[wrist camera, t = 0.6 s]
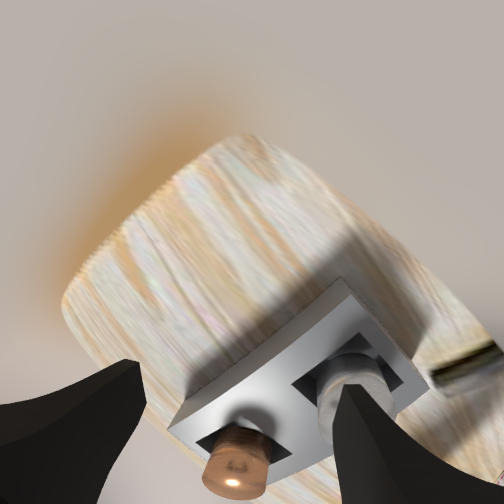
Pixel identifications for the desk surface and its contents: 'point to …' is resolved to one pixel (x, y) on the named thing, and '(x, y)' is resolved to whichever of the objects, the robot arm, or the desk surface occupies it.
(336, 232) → the desk surface
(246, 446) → the copper plunger
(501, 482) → the pill bottle
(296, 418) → the block
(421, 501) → the robot arm
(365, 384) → the aluminium plunger
